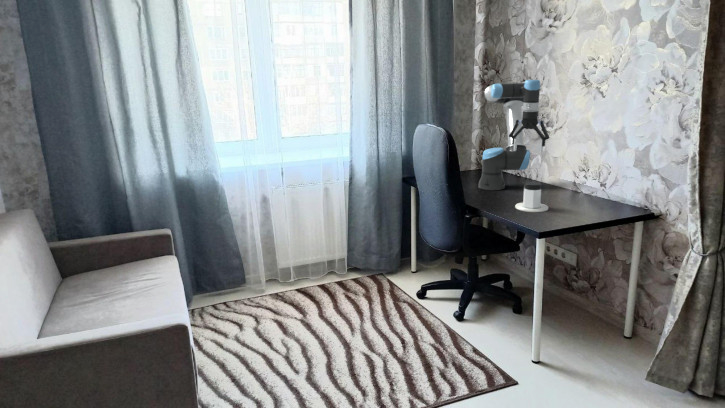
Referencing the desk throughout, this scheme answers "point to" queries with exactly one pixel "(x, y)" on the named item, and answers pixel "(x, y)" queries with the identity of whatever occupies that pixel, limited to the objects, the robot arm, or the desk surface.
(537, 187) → the jar
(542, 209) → the plate
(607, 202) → the desk surface
